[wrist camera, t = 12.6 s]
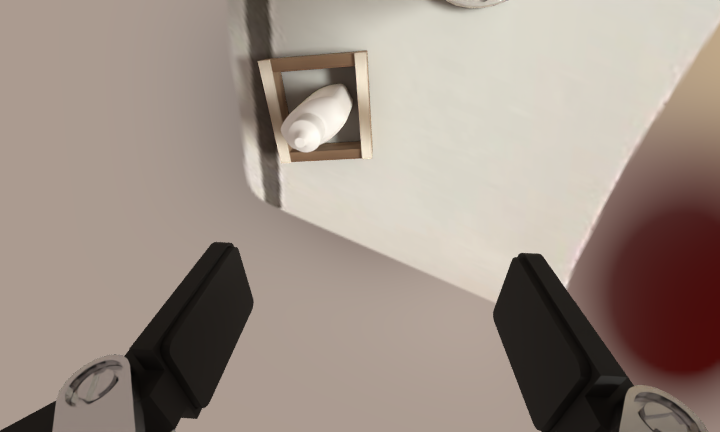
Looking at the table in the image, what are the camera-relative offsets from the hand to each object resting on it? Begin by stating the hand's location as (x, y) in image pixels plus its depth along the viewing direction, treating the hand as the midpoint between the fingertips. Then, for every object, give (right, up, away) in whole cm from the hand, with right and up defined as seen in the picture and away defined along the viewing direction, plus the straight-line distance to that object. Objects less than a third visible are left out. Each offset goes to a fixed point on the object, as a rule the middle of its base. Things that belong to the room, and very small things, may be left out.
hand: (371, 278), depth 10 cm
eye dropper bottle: (-4, +14, +20) cm, 24 cm away
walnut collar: (-4, +13, +20) cm, 24 cm away
